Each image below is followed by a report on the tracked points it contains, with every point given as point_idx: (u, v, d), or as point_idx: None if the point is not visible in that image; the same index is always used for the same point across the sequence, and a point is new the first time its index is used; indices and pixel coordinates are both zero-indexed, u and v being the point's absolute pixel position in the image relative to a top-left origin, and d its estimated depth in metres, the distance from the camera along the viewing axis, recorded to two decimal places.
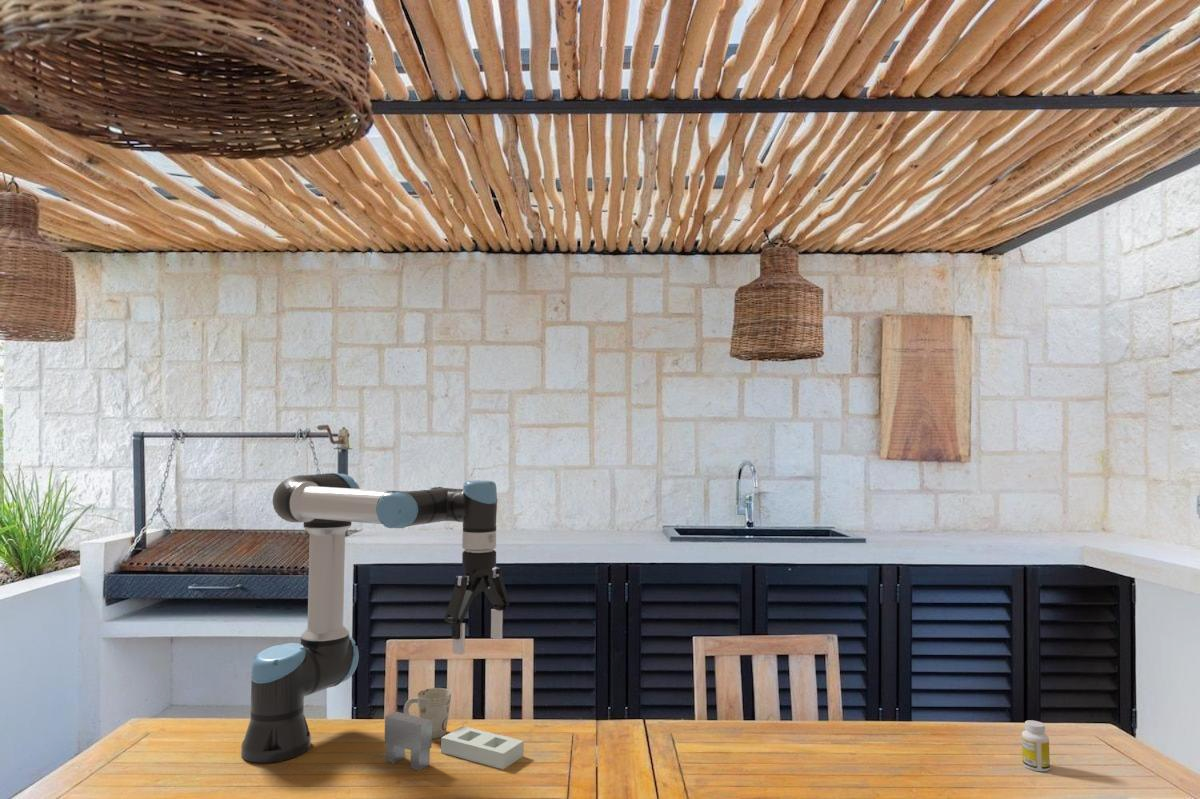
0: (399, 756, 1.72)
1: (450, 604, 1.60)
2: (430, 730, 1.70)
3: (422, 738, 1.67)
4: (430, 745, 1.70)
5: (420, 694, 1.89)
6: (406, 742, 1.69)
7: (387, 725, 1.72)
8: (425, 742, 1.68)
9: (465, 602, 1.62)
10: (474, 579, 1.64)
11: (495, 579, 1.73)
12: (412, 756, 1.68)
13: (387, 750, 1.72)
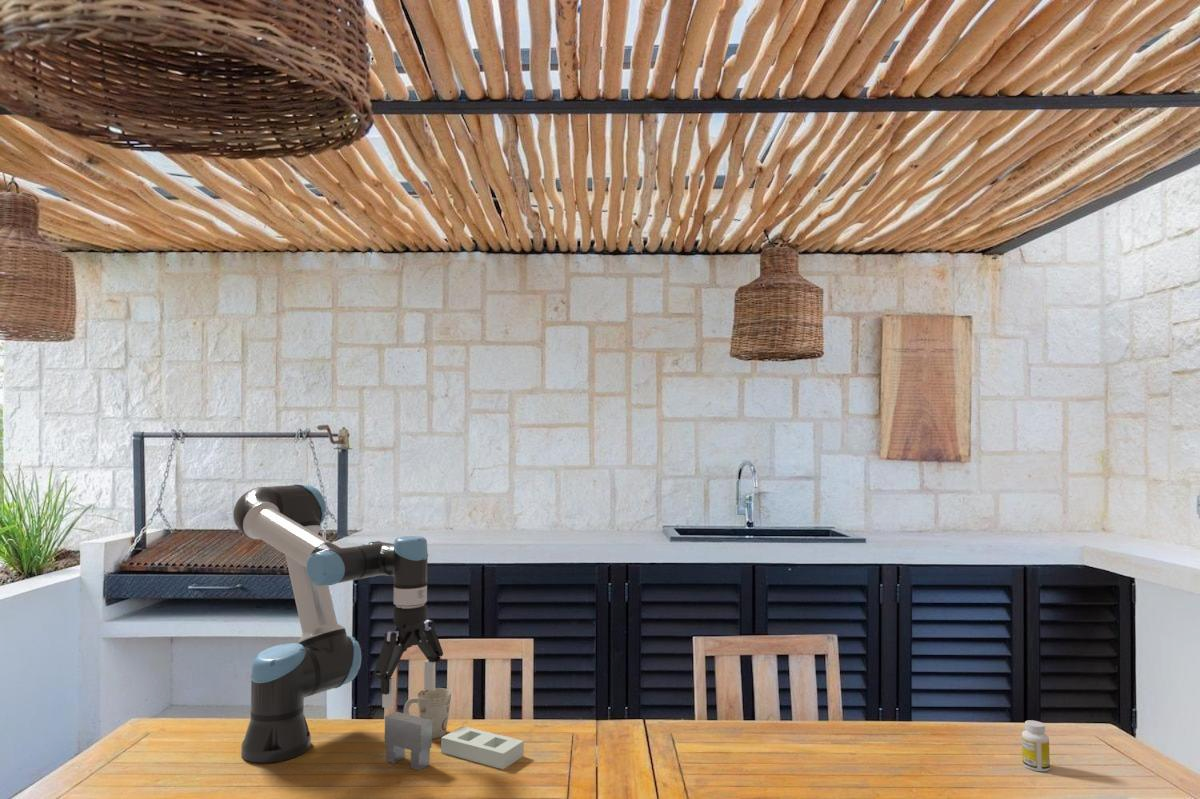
0: (399, 756, 1.72)
1: (379, 660, 1.65)
2: (430, 730, 1.70)
3: (422, 738, 1.67)
4: (430, 745, 1.70)
5: (420, 694, 1.89)
6: (406, 742, 1.69)
7: (387, 725, 1.72)
8: (425, 741, 1.68)
9: (394, 657, 1.67)
10: (404, 634, 1.69)
11: (428, 632, 1.77)
12: (412, 756, 1.68)
13: (387, 750, 1.72)
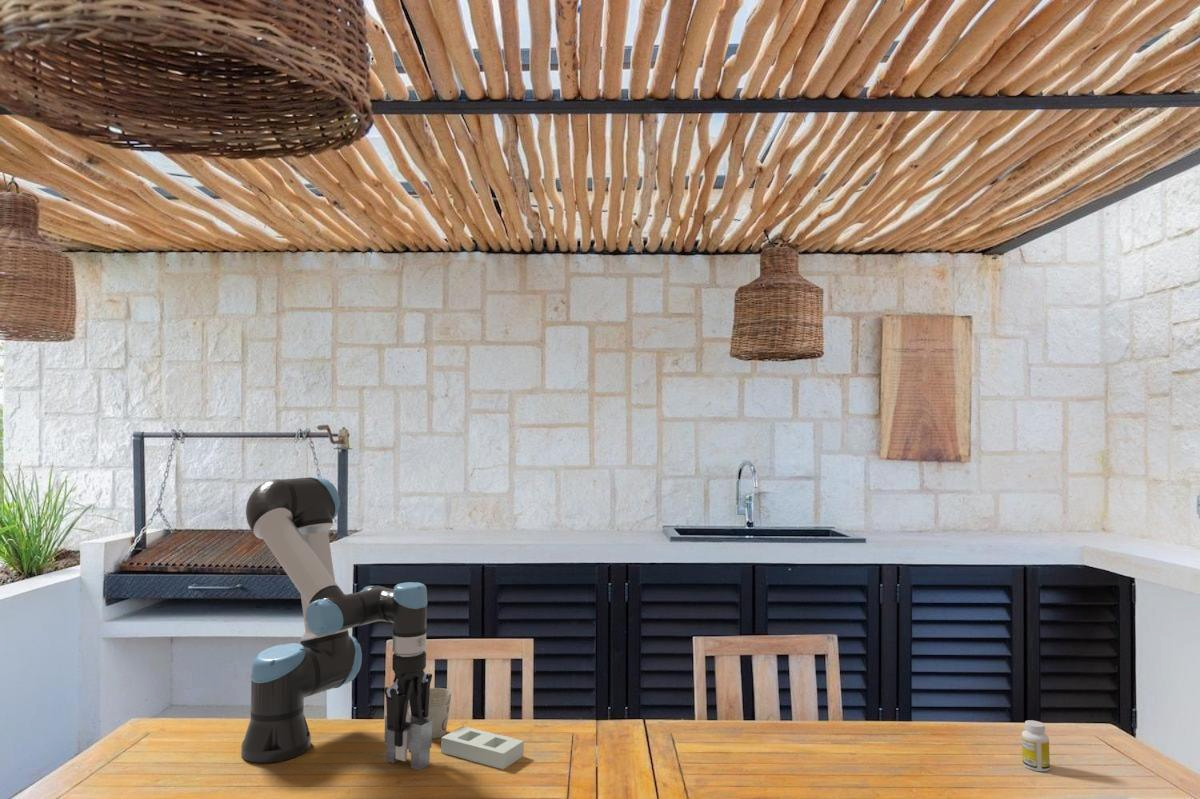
0: None
1: (388, 715, 1.67)
2: (430, 730, 1.70)
3: (422, 738, 1.67)
4: (430, 745, 1.70)
5: None
6: None
7: None
8: (425, 742, 1.68)
9: (401, 710, 1.69)
10: (403, 682, 1.69)
11: (423, 685, 1.76)
12: (412, 756, 1.68)
13: (387, 750, 1.72)
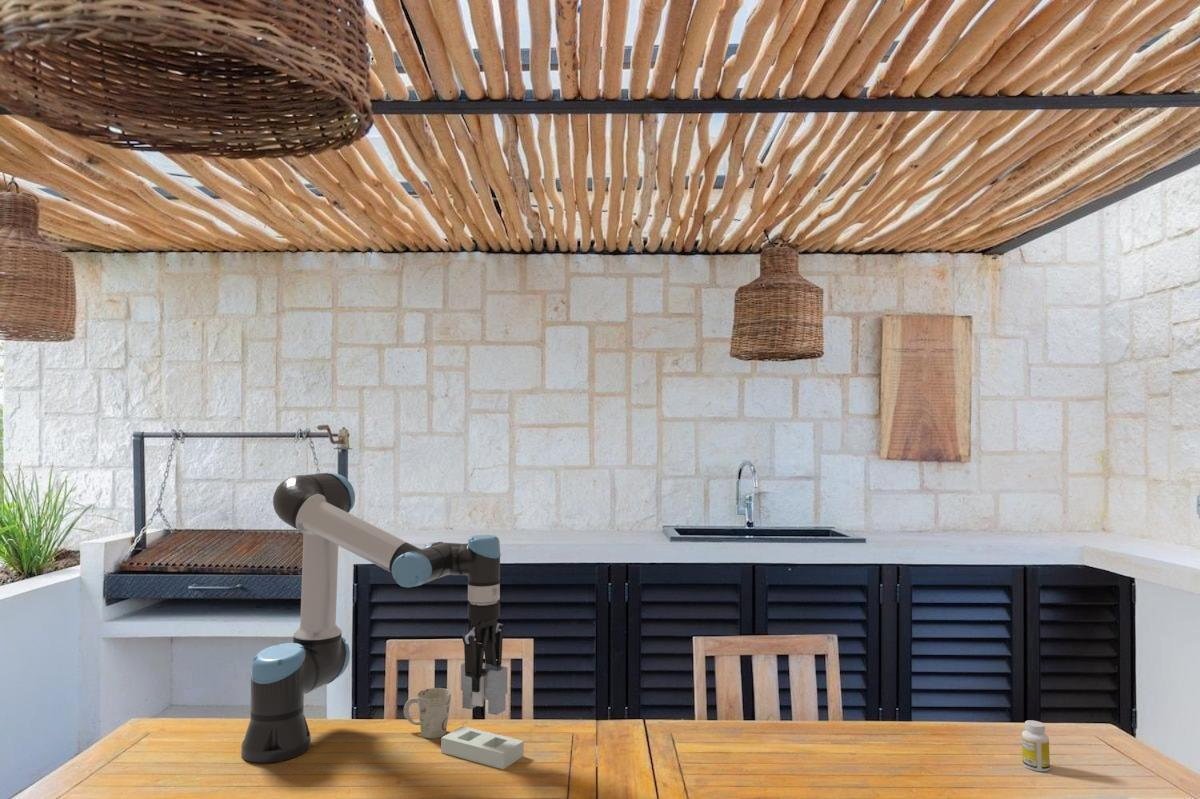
0: None
1: (466, 662, 1.72)
2: (506, 676, 1.75)
3: (499, 683, 1.73)
4: (506, 691, 1.75)
5: (420, 694, 1.89)
6: None
7: (463, 672, 1.77)
8: (502, 687, 1.74)
9: (478, 657, 1.74)
10: (479, 630, 1.74)
11: (496, 634, 1.81)
12: (489, 701, 1.73)
13: (463, 697, 1.77)
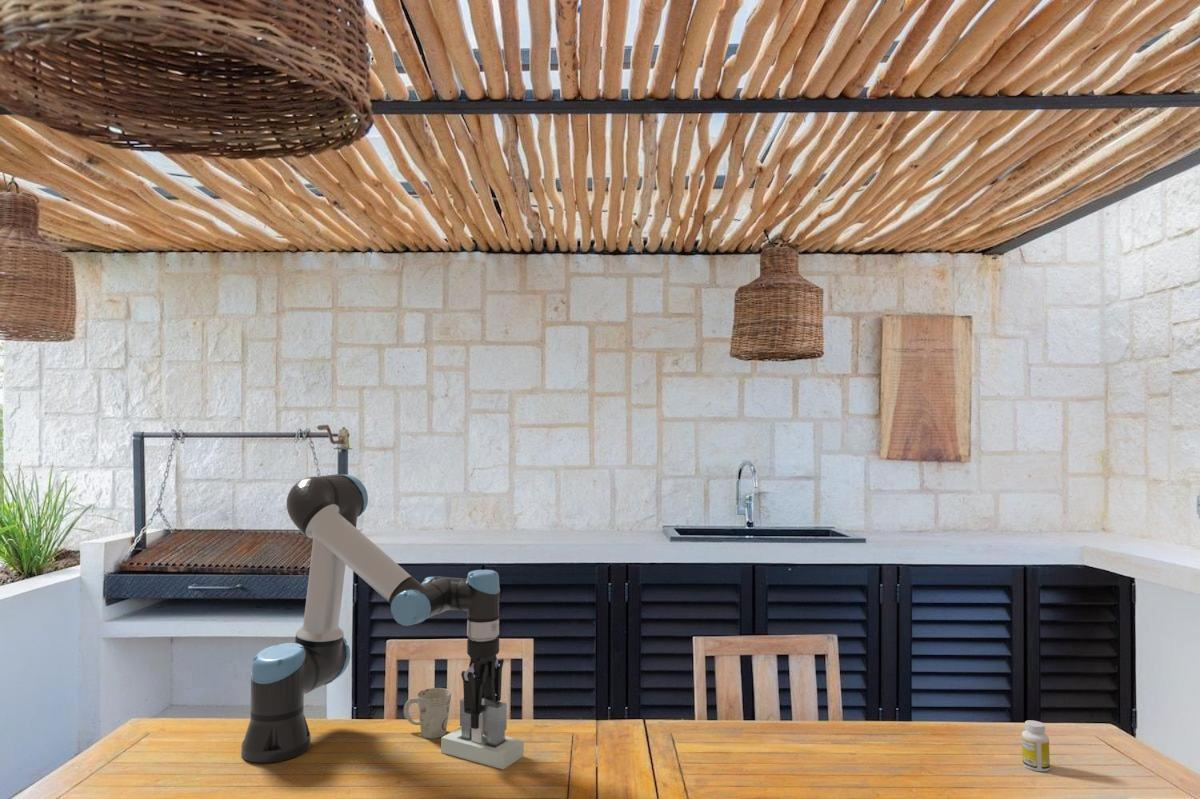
0: None
1: (465, 698, 1.72)
2: (505, 713, 1.75)
3: (498, 720, 1.72)
4: (505, 727, 1.74)
5: (420, 694, 1.89)
6: None
7: (462, 708, 1.77)
8: (501, 724, 1.73)
9: (477, 693, 1.73)
10: (479, 666, 1.74)
11: (495, 669, 1.81)
12: (488, 738, 1.73)
13: (463, 733, 1.76)
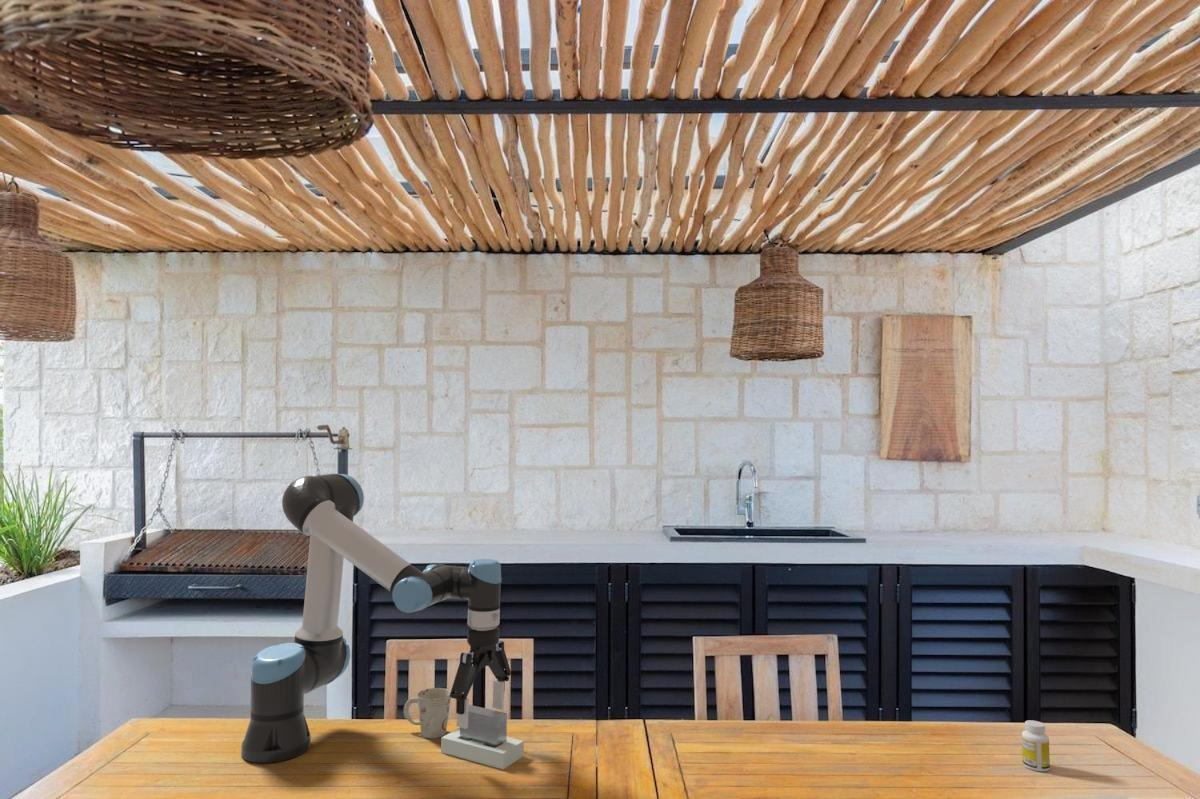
0: None
1: (455, 681, 1.69)
2: (505, 723, 1.74)
3: (499, 730, 1.72)
4: (505, 737, 1.74)
5: (420, 694, 1.89)
6: (482, 734, 1.74)
7: None
8: (501, 734, 1.73)
9: (469, 678, 1.71)
10: (478, 655, 1.74)
11: (498, 652, 1.82)
12: None
13: None
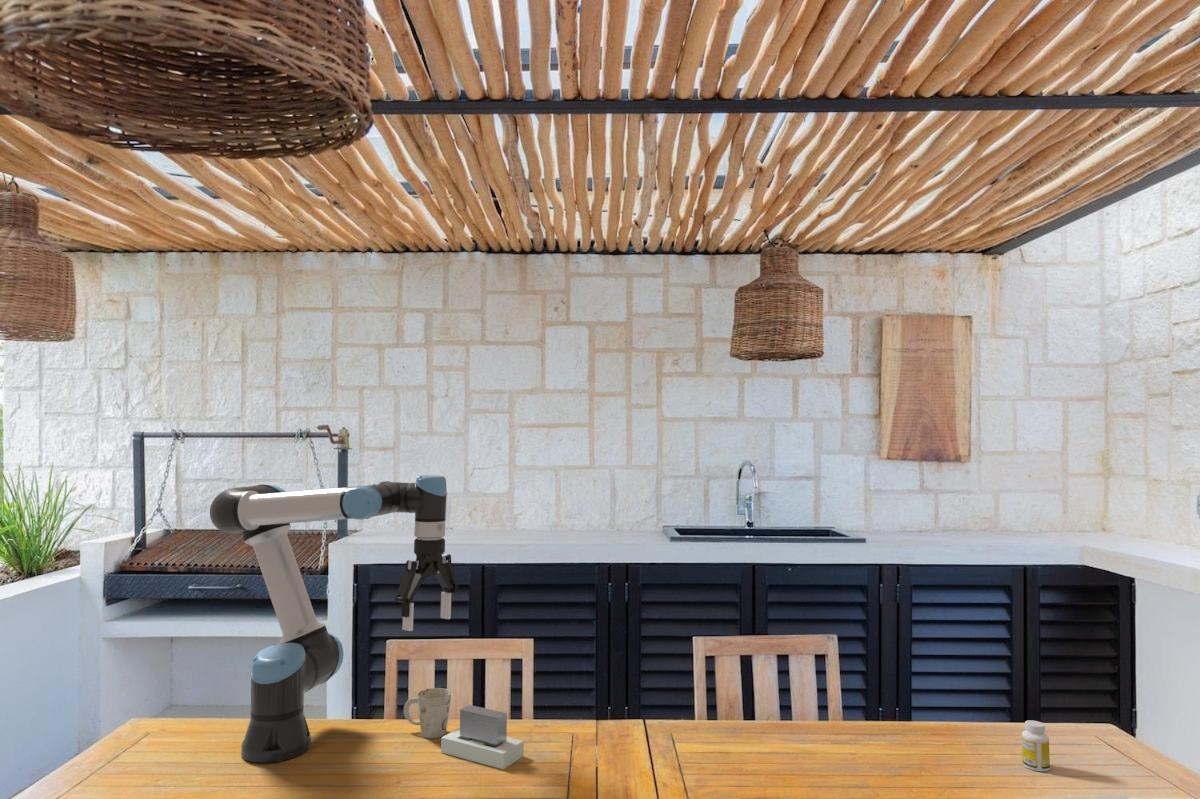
0: None
1: (400, 585, 1.78)
2: (505, 723, 1.74)
3: (499, 730, 1.72)
4: (505, 737, 1.74)
5: (420, 694, 1.89)
6: (482, 734, 1.74)
7: (463, 717, 1.77)
8: (501, 734, 1.73)
9: (414, 584, 1.80)
10: (424, 564, 1.83)
11: (445, 565, 1.91)
12: None
13: None
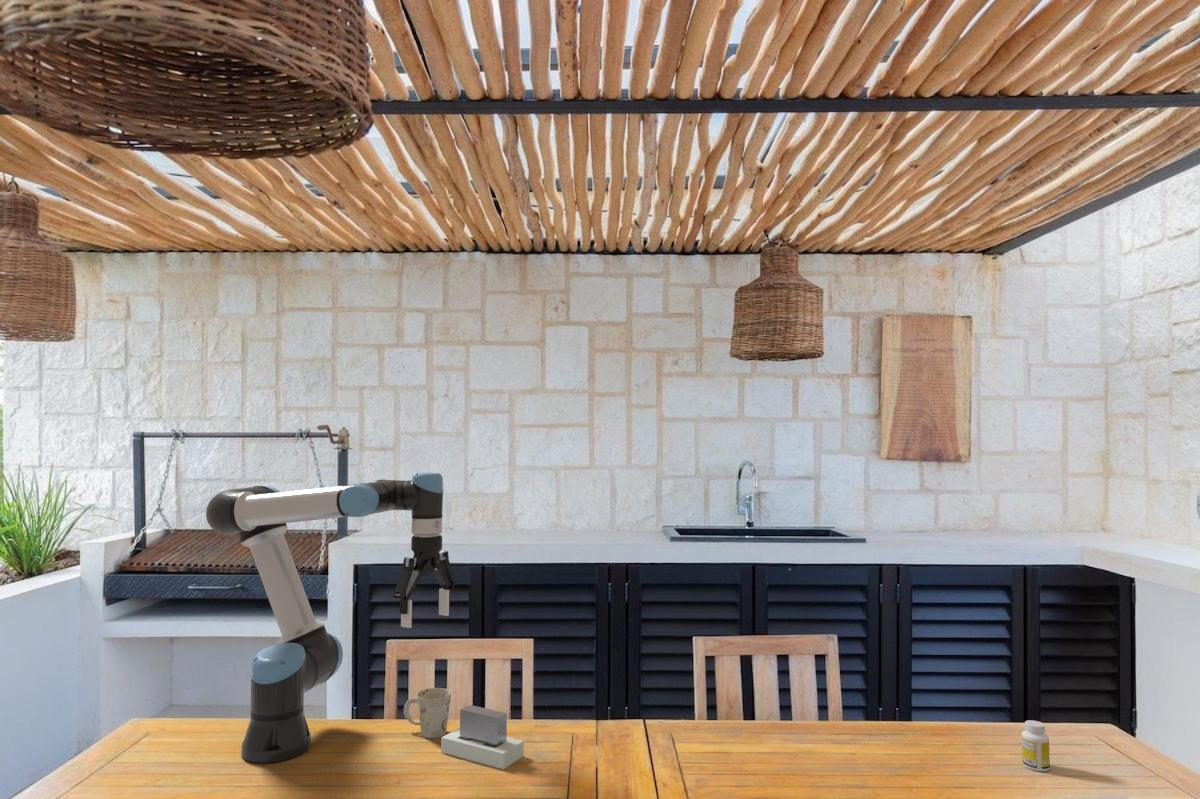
0: None
1: (398, 583, 1.79)
2: (505, 723, 1.74)
3: (499, 730, 1.72)
4: (505, 737, 1.74)
5: (420, 694, 1.89)
6: (482, 734, 1.74)
7: (463, 717, 1.77)
8: (501, 734, 1.73)
9: (412, 581, 1.81)
10: (421, 561, 1.83)
11: (442, 561, 1.91)
12: None
13: None
